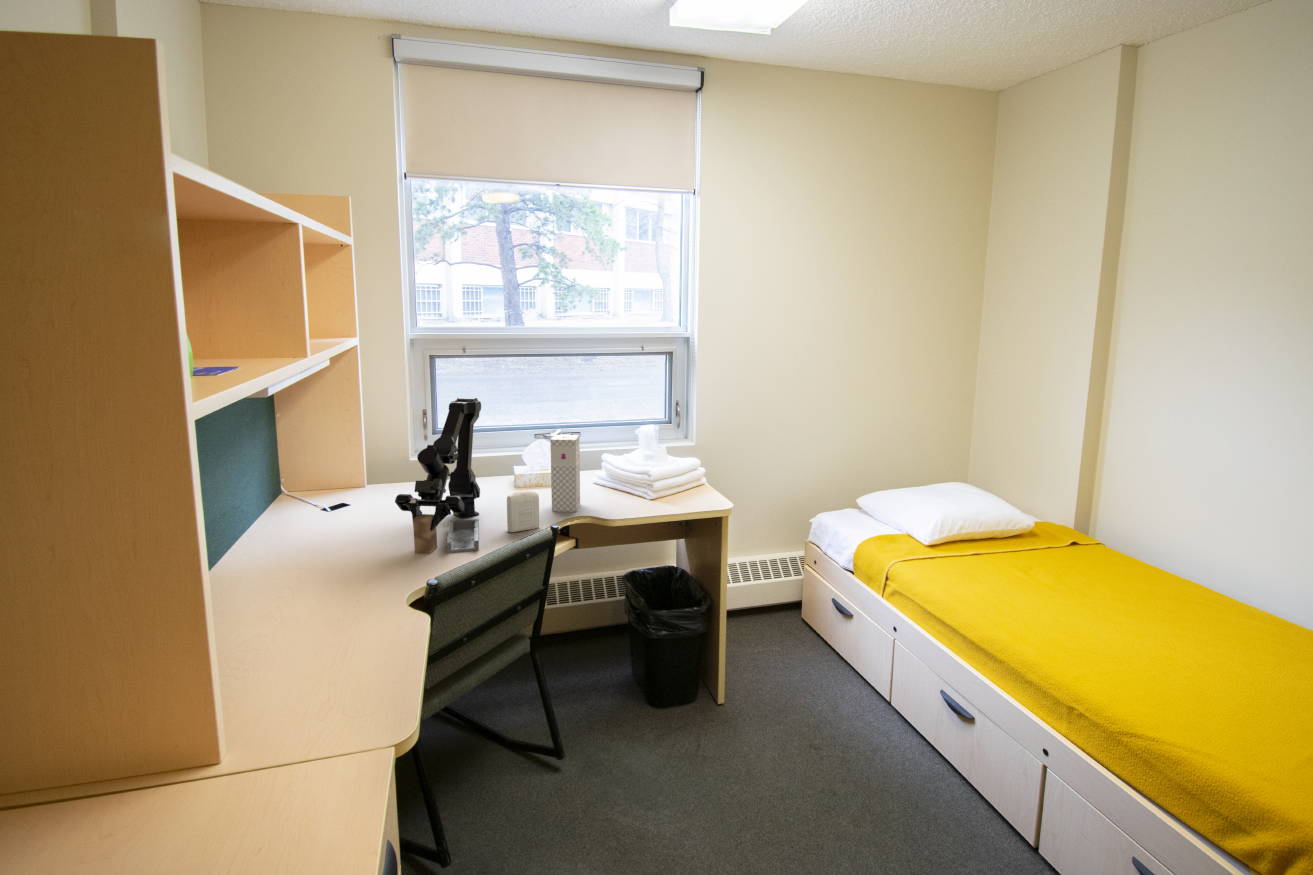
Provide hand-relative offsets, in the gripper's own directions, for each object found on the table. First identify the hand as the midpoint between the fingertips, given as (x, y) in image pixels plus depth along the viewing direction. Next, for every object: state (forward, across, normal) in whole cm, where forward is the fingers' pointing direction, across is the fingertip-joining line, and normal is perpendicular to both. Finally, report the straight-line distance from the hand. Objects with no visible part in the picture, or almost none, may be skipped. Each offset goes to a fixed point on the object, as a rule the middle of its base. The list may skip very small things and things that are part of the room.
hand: (422, 529), depth 193 cm
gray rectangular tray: (-3, +8, +12) cm, 15 cm away
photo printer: (-11, +23, +21) cm, 33 cm away
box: (-28, +32, +37) cm, 56 cm away
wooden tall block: (+4, 0, +6) cm, 7 cm away
